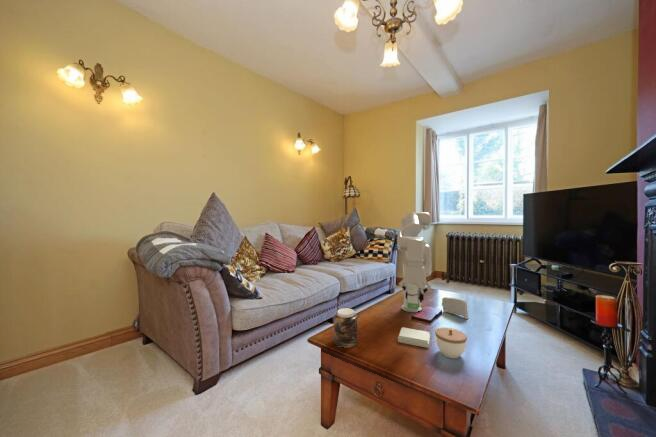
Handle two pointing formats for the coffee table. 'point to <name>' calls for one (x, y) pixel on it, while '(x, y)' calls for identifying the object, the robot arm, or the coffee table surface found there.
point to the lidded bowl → (450, 342)
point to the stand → (414, 337)
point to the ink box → (413, 296)
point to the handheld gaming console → (455, 306)
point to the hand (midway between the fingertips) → (414, 300)
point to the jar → (345, 328)
